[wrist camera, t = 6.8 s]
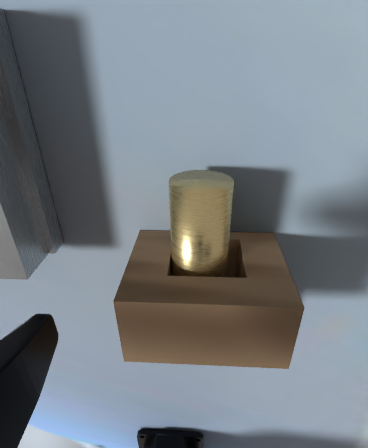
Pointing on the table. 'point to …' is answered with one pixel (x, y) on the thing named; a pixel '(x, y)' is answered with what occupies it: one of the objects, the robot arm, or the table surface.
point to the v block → (21, 177)
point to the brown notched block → (209, 306)
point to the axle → (200, 222)
